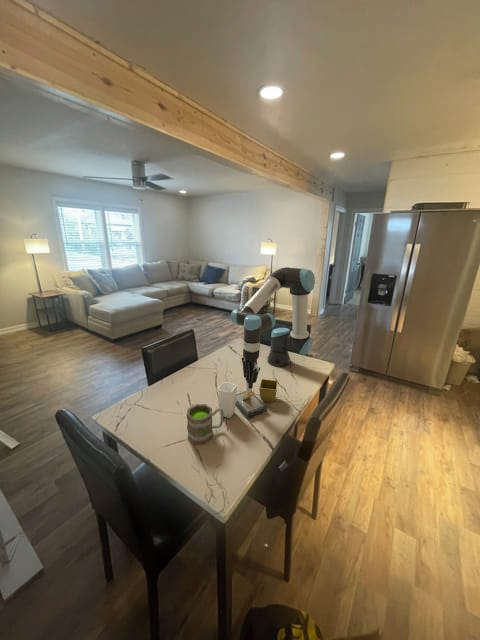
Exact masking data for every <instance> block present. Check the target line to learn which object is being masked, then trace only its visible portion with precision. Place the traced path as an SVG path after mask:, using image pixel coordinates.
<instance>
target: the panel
mask: <svg viewBox="0 0 480 640" xmlns="http://www.w3.org/2000/svg"><path fill="white" fill-rule="evenodd" d="M246 394H247V393H246V390H245V391H243V392H239V393H236V406H235V408H237V410H239V412H240V413H241V414H242V415H243V416H244V417H245V418H246V420H250V419H253V418H255V417H257V416H259V415H263V414H265V413H267V412H268V406H267V404H265V403H264V401H262V399H261V398H259V397H258V396H256V395H255V394H254V395H253V396H251V398H248V399H245V400H243V399H242V397H244V396H245V395H246Z"/></svg>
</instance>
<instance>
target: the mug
mask: <svg viewBox="0 0 480 640" xmlns="http://www.w3.org/2000/svg"><path fill="white" fill-rule="evenodd" d="M186 411H187V412H186V419H187V421H186V422H187V441H189V442H190V443H191V444H192V445H195V446H198V445H199V446H200V445H201V446H202V445H203V446H204V445H205V444H207V443H209V442H210V441H212V440H213V429H220V428H221V427H222V426H223V423H224V416H223V414H224V413H223V410H222V408H219V407H217V408H215V409H214V411H213V408H212V407H210V406H209V405H208V404H206V403H205V404H204V403H196V404H194V405H192V406H191V407H188V409H187V410H186ZM220 411H221V415H220V422H219V424H213V416H215V415H217V413H218V412H220Z"/></svg>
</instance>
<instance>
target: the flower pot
mask: <svg viewBox="0 0 480 640" xmlns="http://www.w3.org/2000/svg"><path fill="white" fill-rule="evenodd" d="M259 384H260V385H259V388H258V389H259V397H260V400H261V401H262V402H268V403H273V402H274V400H276V398H277V397H276V396H277V392H278V391H277V390H278V384H279V382H278V380H274V379H273V380H272V379H266V378H261V379H260V383H259Z"/></svg>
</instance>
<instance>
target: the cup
mask: <svg viewBox="0 0 480 640" xmlns="http://www.w3.org/2000/svg"><path fill="white" fill-rule="evenodd" d="M237 389H238V386H237V384H236V383H232V382H227V381H224V382H222V383H221V384H220V385H219V386H218V387H217V401H218V408H222V410H223V413H224V414H223V418H224V417H225V418H228V419H230V418H232V416H233V415H234V414H235V411H236V394H238V392H237ZM219 415H220V416H221V411H219Z"/></svg>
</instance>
